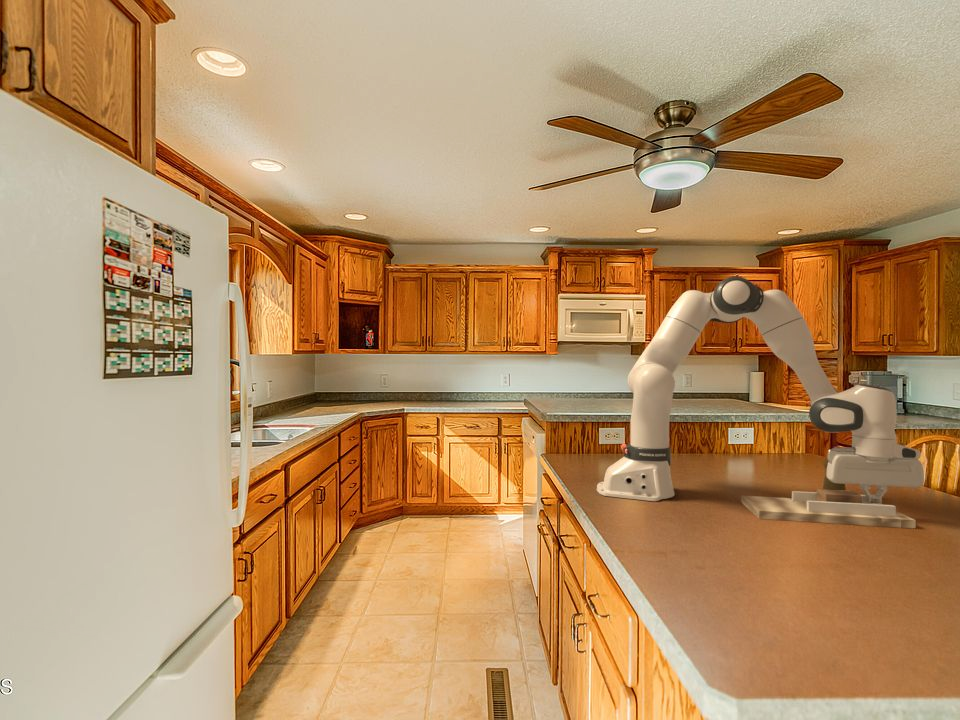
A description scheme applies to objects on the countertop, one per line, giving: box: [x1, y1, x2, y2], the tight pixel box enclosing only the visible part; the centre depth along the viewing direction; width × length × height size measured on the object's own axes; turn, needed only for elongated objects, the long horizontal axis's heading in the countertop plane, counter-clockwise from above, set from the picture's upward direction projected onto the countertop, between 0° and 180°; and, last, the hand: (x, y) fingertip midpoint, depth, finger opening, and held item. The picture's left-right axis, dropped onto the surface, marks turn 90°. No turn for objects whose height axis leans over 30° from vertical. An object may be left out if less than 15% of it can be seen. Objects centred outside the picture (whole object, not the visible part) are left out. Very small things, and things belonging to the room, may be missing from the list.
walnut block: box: [816, 488, 862, 504], centre depth 125 cm, size 8×5×4 cm, turn 78°
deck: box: [740, 495, 917, 530], centre depth 126 cm, size 34×14×2 cm, turn 78°
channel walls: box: [791, 490, 897, 517], centre depth 125 cm, size 19×10×2 cm, turn 78°
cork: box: [822, 458, 847, 491], centre depth 143 cm, size 6×6×11 cm
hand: (873, 502), depth 123 cm, fingers closed
